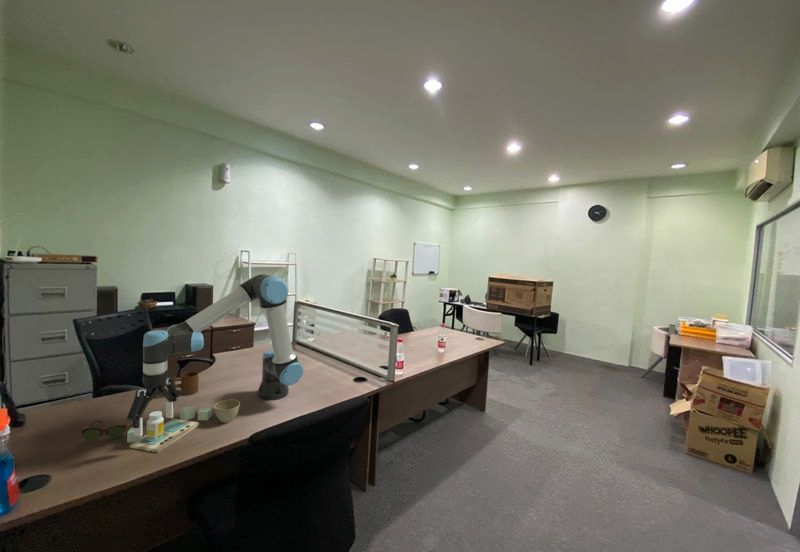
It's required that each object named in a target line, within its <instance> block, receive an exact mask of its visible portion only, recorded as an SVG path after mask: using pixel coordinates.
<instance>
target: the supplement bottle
mask: <svg viewBox="0 0 800 552" xmlns="http://www.w3.org/2000/svg"><path fill="white" fill-rule="evenodd" d="M148 416H149V417H148V419H147V420H146V434H145V435H146V439H147V440H148V441H155V440H158V439H160V438H162V437H163V432H164V424H165V423H164V422H165V419H164V417H163V412H162V411H161V410H156V411H152V412H150V413H149V415H148Z"/></svg>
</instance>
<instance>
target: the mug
mask: <svg viewBox="0 0 800 552" xmlns="http://www.w3.org/2000/svg"><path fill="white" fill-rule="evenodd" d="M172 379H173V384H174V386H175V388H176V389H178V388H179V389H180V393H181V395H183V396H190V395H195V394H196V393H198V392H199V379H200V378H199V373H198V372H196V371H188V372H184V373H182V374H181V377H175V378H172ZM176 382H180V383H176Z"/></svg>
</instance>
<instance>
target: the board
mask: <svg viewBox="0 0 800 552" xmlns="http://www.w3.org/2000/svg"><path fill="white" fill-rule="evenodd" d="M199 426H200V423H199V422H198V421H191V420H187V421H186V420H182V419H180V418H171V419H170V420H169V421H167V422H166V423H164V432H163V437H162V438H160V439H158V440H155V441H148V440H147V439H146V434H145V435H143V436H142V437H141V438H140V439H138V440H136V441H135V442H130V444H129V448H130V449H134V450H142V451H147V452H151V451H152V452H151V453H160V452H161V451H163V450H164V449H165V448H167V447H169V446H170V445H172V444H173V443H174V442H176V441H178V440H179V439H180V438H182V437H184V436H185V435H186V434H188V433H190V432H191V431H193V430H194V429H195V428H196V427H197V428H198V427H199Z"/></svg>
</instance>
